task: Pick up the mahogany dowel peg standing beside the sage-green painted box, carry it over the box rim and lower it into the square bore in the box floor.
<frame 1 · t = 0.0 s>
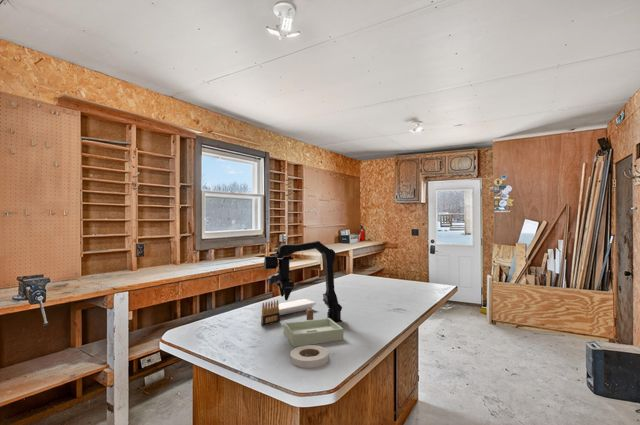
hand: (284, 298, 167), 15 cm above the workbench, fingers open, 9 cm apart
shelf: (290, 313, 192), on the workbench
roll of tape: (309, 360, 127), on the workbench
ammunition clip: (270, 323, 172), on the workbench
box: (312, 336, 152), on the workbench
peg: (310, 325, 169), on the workbench
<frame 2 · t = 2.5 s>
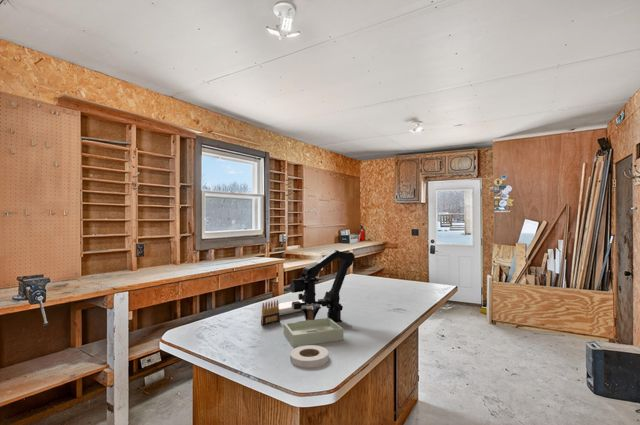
hand: (310, 320, 169), 3 cm above the workbench, fingers closed on peg, 4 cm apart
peg: (310, 325, 169), on the workbench, touching gripper
everything else where it was.
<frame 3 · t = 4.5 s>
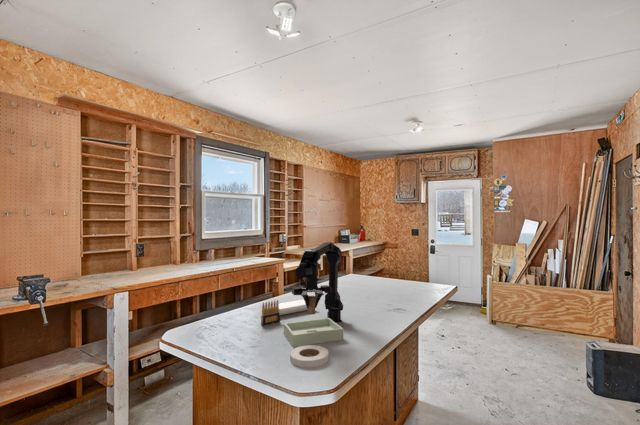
hand: (311, 308, 154), 13 cm above the workbench, fingers closed on peg, 4 cm apart
peg: (311, 313, 154), point 10 cm above the workbench, touching gripper
everything else where it was.
when the fingers open (3 cm above the workbench, at t = 6.7 s): peg stays where it is, resting in box.
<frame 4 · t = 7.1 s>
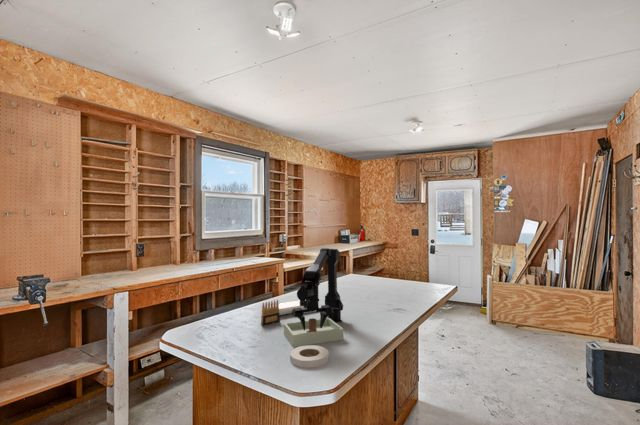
hand: (312, 329, 152), 3 cm above the workbench, fingers open, 8 cm apart
peg: (312, 336, 152), resting in box
everything else where it was.
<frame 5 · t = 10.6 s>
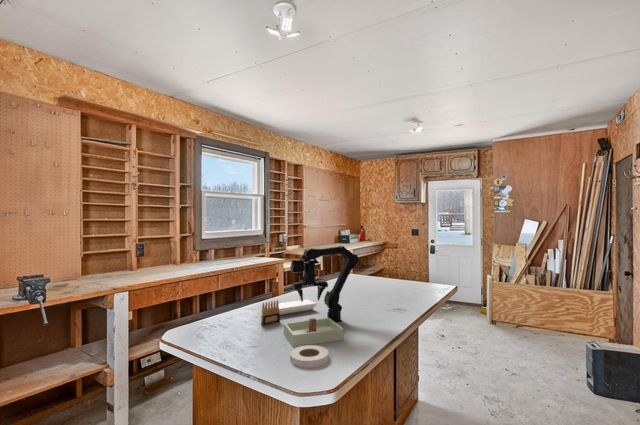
hand: (310, 301, 172), 12 cm above the workbench, fingers open, 9 cm apart
at the end: peg 0.1 cm off-centre on the box, point 0.0 cm above the box's base; peg tilted 0°; the gripper is holding nothing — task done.
